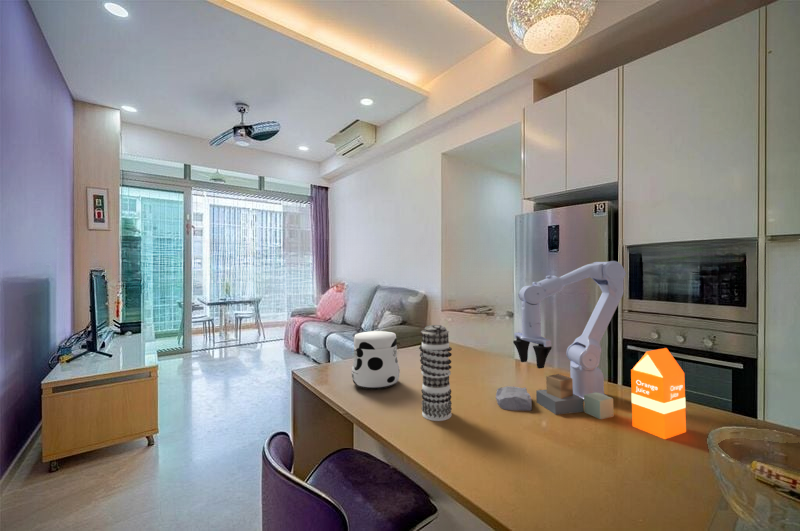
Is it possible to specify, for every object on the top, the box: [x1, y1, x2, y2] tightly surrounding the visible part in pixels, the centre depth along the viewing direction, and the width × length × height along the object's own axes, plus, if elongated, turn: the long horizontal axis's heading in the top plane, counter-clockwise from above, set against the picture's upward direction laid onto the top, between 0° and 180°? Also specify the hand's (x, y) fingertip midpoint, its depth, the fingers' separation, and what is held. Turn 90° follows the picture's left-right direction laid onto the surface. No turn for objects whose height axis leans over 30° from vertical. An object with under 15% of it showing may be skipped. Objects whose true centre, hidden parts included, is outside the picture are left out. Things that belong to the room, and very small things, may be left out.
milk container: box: [351, 330, 401, 390], centre depth 122 cm, size 17×17×18 cm
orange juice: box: [630, 347, 687, 440], centre depth 85 cm, size 8×9×20 cm
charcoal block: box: [535, 389, 585, 415], centre depth 100 cm, size 9×9×4 cm
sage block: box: [583, 392, 614, 420], centre depth 94 cm, size 5×5×5 cm
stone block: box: [495, 385, 533, 412], centre depth 103 cm, size 12×5×10 cm
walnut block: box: [545, 373, 573, 399], centre depth 100 cm, size 5×5×5 cm
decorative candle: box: [418, 324, 453, 422], centre depth 96 cm, size 9×9×25 cm
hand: (532, 364), depth 109 cm, fingers open, 7 cm apart
